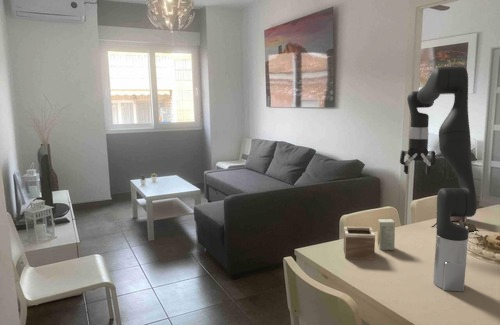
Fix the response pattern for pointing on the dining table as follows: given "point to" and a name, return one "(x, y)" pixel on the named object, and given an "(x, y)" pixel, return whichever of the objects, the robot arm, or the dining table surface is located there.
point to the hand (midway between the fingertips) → (416, 173)
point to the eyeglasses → (464, 225)
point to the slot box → (359, 243)
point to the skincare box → (386, 234)
